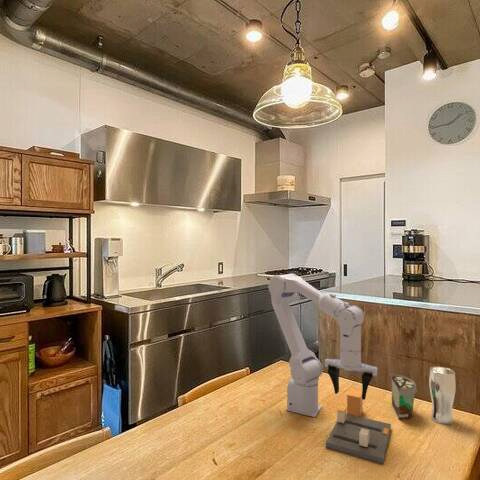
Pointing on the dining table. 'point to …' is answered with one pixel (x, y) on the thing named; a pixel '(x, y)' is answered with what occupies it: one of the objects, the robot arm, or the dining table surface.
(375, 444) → the panel
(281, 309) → the robot arm
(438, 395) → the beer glass
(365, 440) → the block
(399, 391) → the food container
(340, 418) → the block
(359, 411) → the block
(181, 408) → the dining table surface
